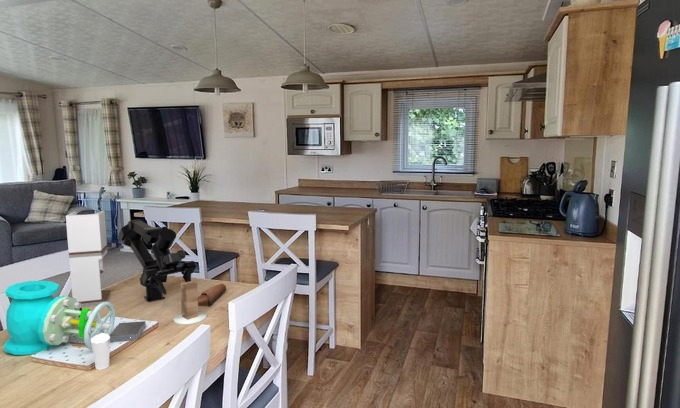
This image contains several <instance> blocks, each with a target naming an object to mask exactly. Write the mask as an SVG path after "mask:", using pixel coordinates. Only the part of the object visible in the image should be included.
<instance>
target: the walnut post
mask: <svg viewBox="0 0 680 408" xmlns="http://www.w3.org/2000/svg"><path fill="white" fill-rule="evenodd" d="M198 297H199V296H198V283H197V282H194V281H192V280H191V281H190V282H185V281H184V282H182V283H180V302H181V303H180V304H181V313H182V317H184V318H185V319H187V320H189V319H192V318H195V317H198V311H199V306H198Z"/></svg>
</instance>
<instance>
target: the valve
mask: <svg viewBox="0 0 680 408" xmlns="http://www.w3.org/2000/svg"><path fill="white" fill-rule="evenodd" d="M59 290H60V284H58V283H56V282H54V281H49V280H28V281H23V282H17V283H14V284H11V285H10V286H7V287H6V289H5V291H4V292H5V296H6V297H8V298H11V302H10V303H9V305H8V307H7V310H6V315H5V323H6V330H7V333H8V335H9V337H10V338H9V339H7V340H6V341H5V343H4V344H3V349H4V352H5V353H7V354H10V355H14V356H15V355H16V356H20V355H21V356H23V355H33V354H37V353H41V352H44V351H47V350H49V349H50V348H51V347H53V346H59V345H61V344H62V343H68V341H69V340H70V339H69V338H70V336H72V335H73V334H74V335H78V338H80V339H83V340H84V345H85V347H86V348H87V349H88V350H90V351H93V350H92V345H91V338H90V336H91V337H92V338H93V337H94V336H96V335H98V334H97V333H98V332H99V334H101V333H105V332H106V334H108V335H110V334H111V333H112V332H113V330H114V329H113V328H114V325H115V320H116V311H115V307H114V305H113V303H111V302H110V301H107V302H102V303H101V304H99V305H95V306H96V307H94V309H93V310H91V308H87V307H84V308H82V307H81V303H78V302H77V300H76V298H72V297H71V296H68V295H61V296H56V297H55V298H54V297H53V295H55V294H56V293H58V292H59ZM104 307H107V308H108V310H109V312H108V313H107V314H106V315H105V317H104V318H103V320H102V316H101V314H100V310H101V309H103V308H104ZM79 308H82V311H79ZM79 315H80V317H79ZM95 318H96V320H97V321H94V320H95ZM108 320H109V323H107V321H108ZM76 327H78V329H76ZM91 328H93V329H94V331H93V330H91ZM105 330H106V331H105ZM88 332H89V334H90V336H89V335H88Z"/></svg>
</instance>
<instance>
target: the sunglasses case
mask: <svg viewBox="0 0 680 408" xmlns="http://www.w3.org/2000/svg"><path fill="white" fill-rule="evenodd" d="M226 291H227V287H226V284H224V283H219V284H215V285H213V286H211V287H209V288H208V289H205V290H203V291H202V292H201V293H200V295H199V296H198V307H211V306H212V305H213V304H214V303H215V301H217V299H218V298H220V296H221V295H223V293H225V292H226Z"/></svg>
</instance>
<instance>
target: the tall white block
mask: <svg viewBox="0 0 680 408" xmlns="http://www.w3.org/2000/svg"><path fill="white" fill-rule="evenodd" d="M105 212H106V211H105V210H100V211H99V212H96V213H90V214H89V213H88V214H77V211H72V212H71V213H68V214H66V215H65V222H66V223H65V225H66V238H67V247H68V248H67V250H68V258H69V259H68V261H69V270H70V271H69V273H70V281H71V282H70V284H71V296H72V298H76V300H77V302H78V303H81V307H80V308H83V307H84V308H85V307H91V306H93V307H94V306H98V305H99V304H101V303H102V302H108V300H109V298H110V296H112V295H111V289H107V290H106V289H105V290H102V282H101V275H102V274H103V273H104V261H103V259H104V257H105V256H106V255H107V254H108V242H107V241H108V240H107V227H106V214H105Z"/></svg>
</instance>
